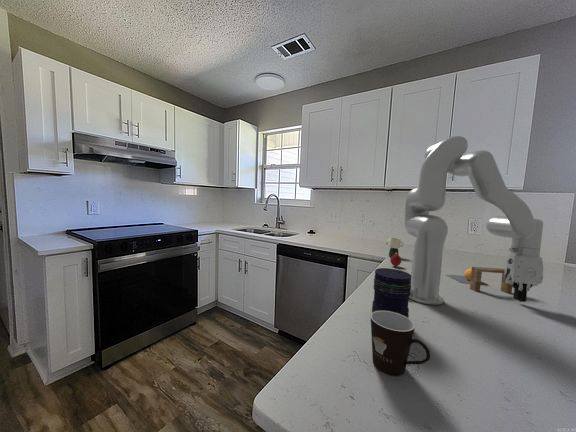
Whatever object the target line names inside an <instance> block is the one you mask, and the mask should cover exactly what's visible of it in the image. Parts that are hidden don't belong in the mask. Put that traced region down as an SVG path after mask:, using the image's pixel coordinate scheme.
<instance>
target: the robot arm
mask: <svg viewBox="0 0 576 432" xmlns="http://www.w3.org/2000/svg"><path fill="white" fill-rule="evenodd" d="M468 147H469V143H468V140H467V139H466V137H464V136H461V135H456V136H455V135H454V136H450V137H447V138H445V139H443V140H441V141H440V142H437V143H434V144H432V145H430V146H429V147H428V148H427V149H426V151H425V153H424V161H423V163H422V164H421V169H420V172H419V181H418V187H415V188H412V189H411V190H410V191H409V192H408V193H407V195H406V198H405V206H404V227H405V228H404V229H405V231H406V232H407V233H408V234H409V235H410V236H412V237H413V238H416V239H415V242H414V245H413V248H412V249H413V250H412V260H411V268H410V269H411V273H410V275H411V290H410V292H411V293H410V296H409V299H410V300H412V301H414V302H417V303H420V304H423V305H424V304H425V305H430V306H431V305H433V306H436V305H437V306H439V305H442V304H443V303H444V298H443V297H442V296H441V295H440V285H441V273H442V265H443V263H442V262H443V253H444V252H443V251H444V246H445V242H446V239H447V237H448V232H449V229H448V225H447V222H446V221H445V220H444V219H443V218H442V217H440V216H438V215H434V214H430V212H436V211H439V210H441V209H442V208H443V207H444V205H445V202H446V194H447V193H446V192H447V191H446V190H447V189H446V188H447V177H448V173H449V174H451V175H454V176H457V177H468V178H469V181H470V183H471V185H472V187H473V190H474V192H475V195H476V197H478V198H479V199H481V200H482V201H485V202H487V203H489V204H491V205H493V206H495V207H497V208H498V209H500V211H501V212H502V213H503V214H504V215H505V216H501V215H500V216H499V215H498V216H494V217H491V218H489V219H488V220H487V222H486V224H485V228H486V230H487V232H488V233H489V234H492V235H494V236H498V237H503V238H510V239H511V246H510V247H509V248H508V251H509V252H510V253H509V254H508V256H507V259H506V263H505V266H504V269H505V272H504V277H505V278H506V280H505V283H507V284H510V285H512V289H513V296H512V297H513V299H514V300H517V301H519V302H521V303H522V302H527V296H528V295H527V294H528V292H529V291H530V289H531V288H533V287H537V286H538V285H541V284H542V283H543V280H544V263H543V258H542V256H540V255H541V248H542V238H543V228H544V222H543V220H541V219H539V218H534V216H533V213H532V211H531V209H530V207H529V206H528V205H527V204H526V202H525V201H523V199H522V198H520V197H519V196H518V195H517V194H516V193H514V192H513V191H512V190H510V189H509V188H508V187H507V186H506V184H505V181H504V179H503V176H502V175H501V171H500V169H499V167H498V165H497V163H496V159H495V158H494V156H493V154H492V153H491V152H490V151H488V150H475V151H472V152H467V151H468V149H469V148H468ZM466 152H467V153H466Z"/></svg>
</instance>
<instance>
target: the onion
mask: <svg viewBox="0 0 576 432" xmlns="http://www.w3.org/2000/svg"><path fill="white" fill-rule="evenodd" d="M389 261H390V264H391V265H392V266H394V267H395V268H396V267H398V266H400V265H401V264H402V258H401V256H400V255H398V254H397V253H395V255H393V256H392V257H390V259H389Z"/></svg>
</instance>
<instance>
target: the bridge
mask: <svg viewBox="0 0 576 432" xmlns="http://www.w3.org/2000/svg"><path fill="white" fill-rule="evenodd" d="M471 269H472V271H471V281H470V283H469V289H470V290H471V291H474V292H480V291H481V285H482V284H481V281H482V275H483V273H496V274H501V282H500V283H501V284H500V291H501V292H503V293H505V294H512V293H513V286H512V285H510V284H507V283H505V280H506V278H505V277H504V272H505V268H502V267H501V268H497V267H496V268H495V267H480V266H471Z"/></svg>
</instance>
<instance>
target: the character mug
mask: <svg viewBox="0 0 576 432" xmlns="http://www.w3.org/2000/svg"><path fill="white" fill-rule="evenodd" d="M385 245H388V247H389V248H390V249H389V251H388V256H389V257H390V258H391V257H392V256H393V255H395V253H397V254H398V255H399V249H400V248H403V247H404V242H403V241H401V238H399V237H388V239H386V240H385ZM399 256H400V255H399Z"/></svg>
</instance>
